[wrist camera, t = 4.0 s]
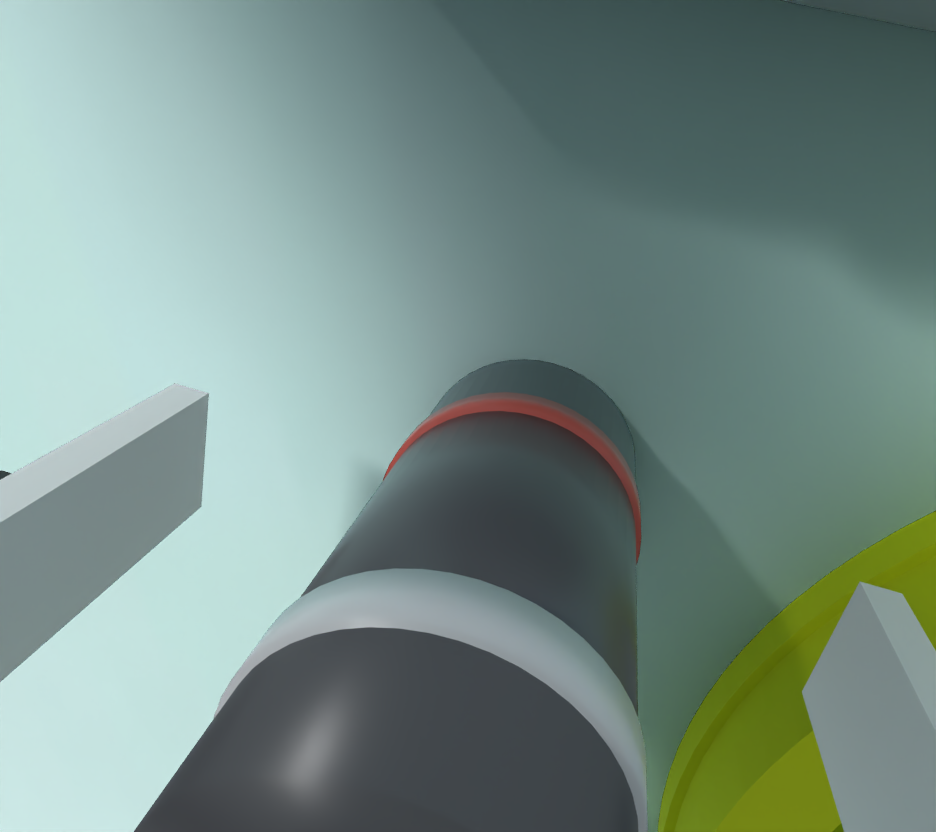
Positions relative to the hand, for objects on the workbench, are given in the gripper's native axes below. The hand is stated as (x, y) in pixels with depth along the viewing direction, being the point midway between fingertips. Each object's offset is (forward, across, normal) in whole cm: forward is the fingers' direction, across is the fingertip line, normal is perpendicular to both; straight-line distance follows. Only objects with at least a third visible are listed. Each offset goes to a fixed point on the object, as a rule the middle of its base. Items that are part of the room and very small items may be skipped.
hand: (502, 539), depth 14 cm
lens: (+4, 0, 0) cm, 4 cm away
